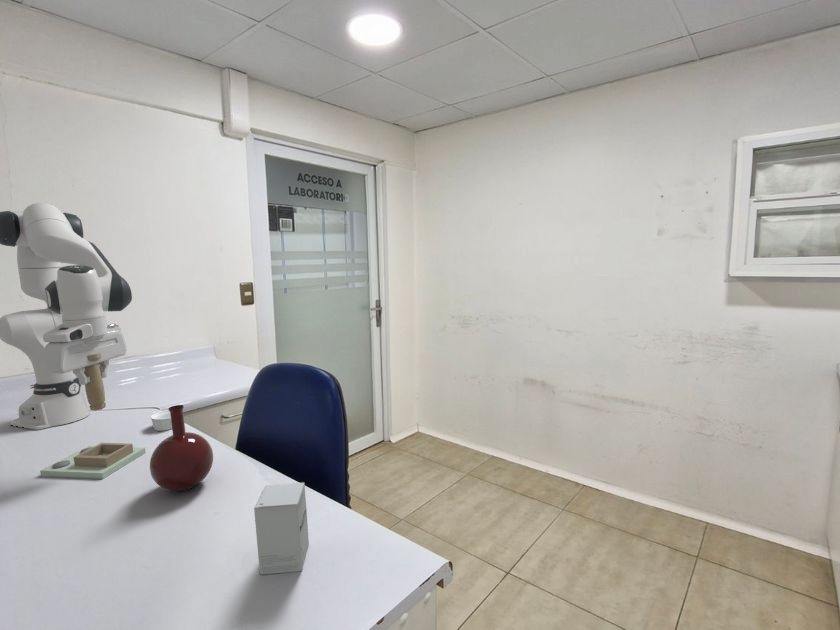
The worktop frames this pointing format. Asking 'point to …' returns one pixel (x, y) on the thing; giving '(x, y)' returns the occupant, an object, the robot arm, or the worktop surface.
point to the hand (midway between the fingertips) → (93, 381)
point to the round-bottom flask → (181, 457)
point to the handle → (95, 384)
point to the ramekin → (162, 420)
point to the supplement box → (281, 528)
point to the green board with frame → (94, 461)
